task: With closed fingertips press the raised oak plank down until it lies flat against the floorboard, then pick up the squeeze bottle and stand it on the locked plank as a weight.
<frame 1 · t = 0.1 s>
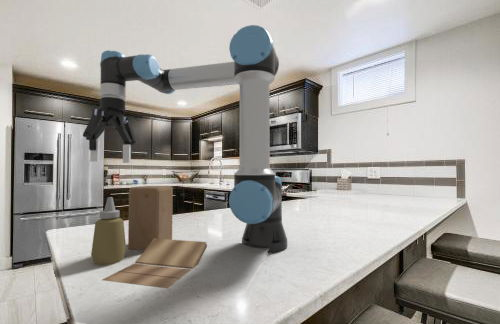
hand: (111, 162, 86), 28 cm above the table, fingers open, 13 cm apart
plank: (172, 254, 68), point 3 cm above the table, hinge at 28.0°
squeeze bottle: (108, 266, 68), on the table
floorboard: (148, 281, 58), on the table
wooden block: (151, 250, 82), on the table
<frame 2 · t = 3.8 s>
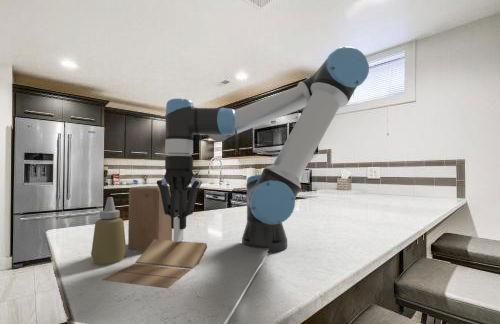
hand: (178, 240, 71), 6 cm above the table, fingers closed
plank: (172, 254, 68), point 3 cm above the table, hinge at 25.8°, touching gripper
everything else where it was.
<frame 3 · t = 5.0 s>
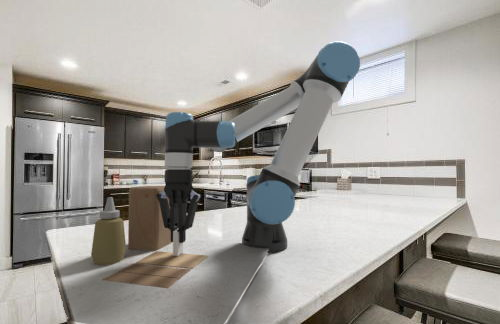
hand: (177, 254, 71), 2 cm above the table, fingers closed
plank: (172, 261, 68), point 1 cm above the table, hinge at 2.0°, touching gripper
everything else where it was.
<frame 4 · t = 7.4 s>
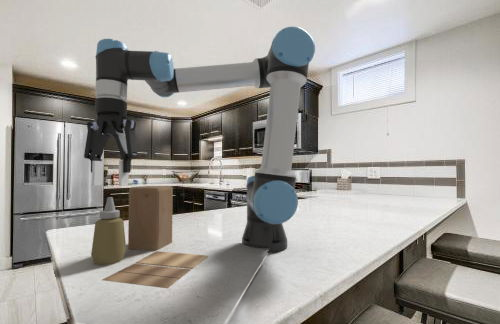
hand: (110, 185, 68), 21 cm above the table, fingers open, 8 cm apart
plank: (172, 261, 68), point 1 cm above the table, hinge at 2.0°
everything else where it was.
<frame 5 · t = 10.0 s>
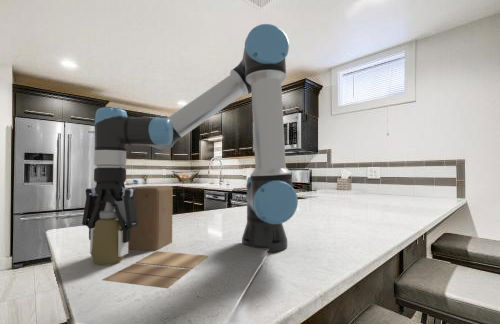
hand: (109, 253, 68), 3 cm above the table, fingers closed on squeeze bottle, 8 cm apart
squeeze bottle: (108, 266, 68), on the table, touching gripper
everything else where it was.
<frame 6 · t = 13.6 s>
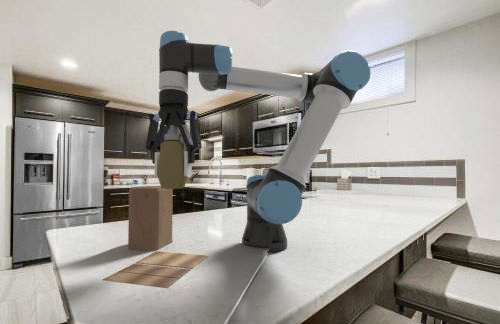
hand: (173, 176, 69), 24 cm above the table, fingers closed on squeeze bottle, 8 cm apart
squeeze bottle: (172, 189, 69), point 20 cm above the table, touching gripper
everything else where it was.
when the fingers open (6 cm above the table, at t = 17.0 s): squeeze bottle drops 1 cm, resting on plank.
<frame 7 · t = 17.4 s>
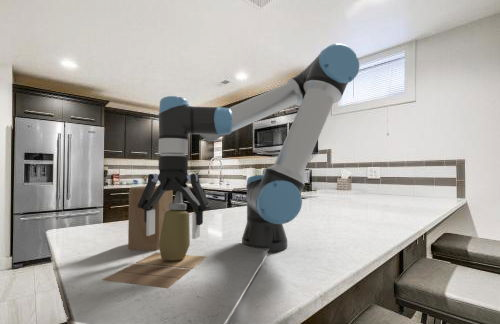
hand: (172, 236, 68), 8 cm above the table, fingers open, 13 cm apart
plank: (172, 262, 68), point 1 cm above the table, hinge at -0.2°, touching squeeze bottle
squeeze bottle: (172, 259, 68), point 2 cm above the table, touching plank
everything else where it was.
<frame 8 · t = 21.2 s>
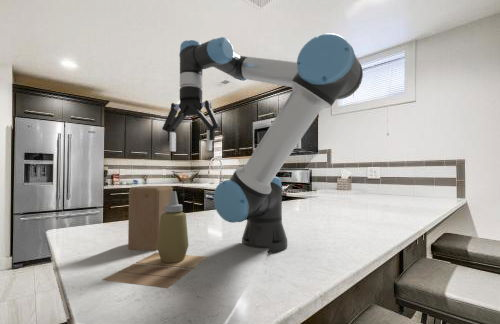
hand: (190, 150, 87), 32 cm above the table, fingers open, 13 cm apart
at the end: plank at +0° (first picture: +28°); squeeze bottle inside the target area (0.5 cm from its centre), point 1.3 cm above the table; squeeze bottle tilted 0° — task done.
